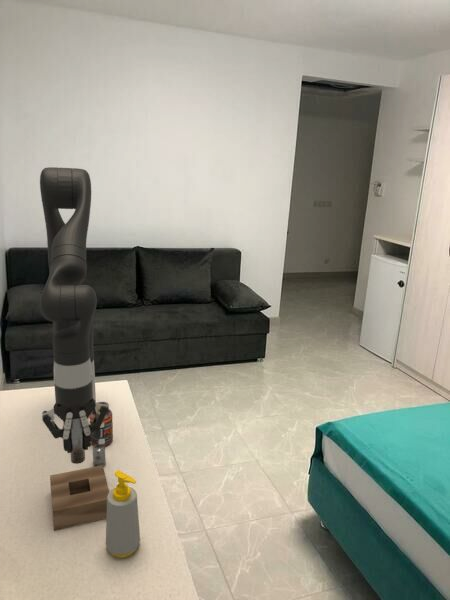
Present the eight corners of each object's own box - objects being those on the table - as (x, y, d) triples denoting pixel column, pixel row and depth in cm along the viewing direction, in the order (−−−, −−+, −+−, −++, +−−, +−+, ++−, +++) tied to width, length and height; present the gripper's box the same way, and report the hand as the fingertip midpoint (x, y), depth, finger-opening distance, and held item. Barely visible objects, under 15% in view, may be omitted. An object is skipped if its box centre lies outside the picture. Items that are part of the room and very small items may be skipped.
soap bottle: (124, 566, 95) (122, 491, 90) (98, 550, 99) (95, 476, 93) (147, 543, 101) (147, 471, 95) (122, 529, 104) (120, 458, 99)
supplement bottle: (107, 449, 130) (106, 412, 127) (86, 445, 131) (85, 409, 128) (116, 436, 136) (115, 401, 132) (96, 433, 137) (95, 398, 133)
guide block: (51, 493, 114) (49, 475, 112) (103, 482, 118) (102, 465, 116) (54, 530, 103) (52, 511, 102) (111, 517, 108) (110, 498, 106)
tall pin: (70, 456, 107) (67, 413, 104) (84, 454, 109) (82, 410, 105) (71, 464, 105) (68, 420, 101) (85, 462, 106) (83, 418, 102)
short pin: (92, 462, 125) (92, 446, 123) (104, 460, 126) (104, 443, 124) (94, 469, 122) (93, 452, 121) (106, 467, 123) (105, 450, 122)
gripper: (105, 366, 106) (107, 434, 112) (36, 374, 101) (42, 445, 107) (110, 382, 100) (112, 453, 105) (37, 391, 95) (43, 466, 100)
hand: (77, 449), depth 106 cm, fingers closed on tall pin, 3 cm apart
